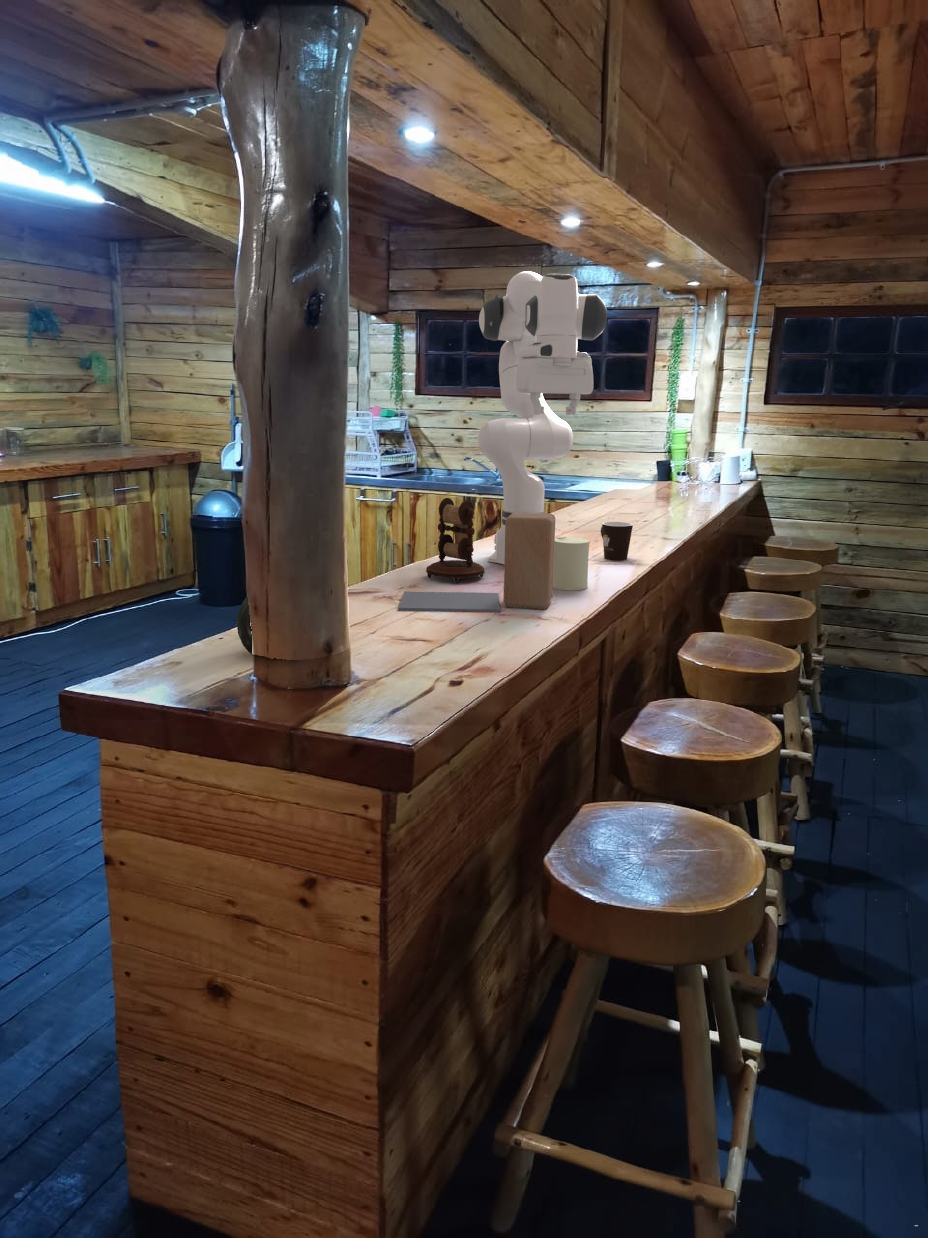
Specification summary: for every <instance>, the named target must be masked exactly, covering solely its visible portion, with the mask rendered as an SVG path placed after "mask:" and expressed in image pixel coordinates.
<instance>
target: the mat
mask: <svg viewBox="0 0 928 1238" xmlns="http://www.w3.org/2000/svg"><path fill="white" fill-rule="evenodd" d="M397 611H399V612H400V611H402V612H405V611H406V612H408V611H409V612H411V611H412V612H458V613H459V612H460V613H461V612H462V613H463V612H465V613H470V612H472V613H501V606H500V595H499V592H476V591H475V592H472V591H471V592H470V591H468V592H465V591H461V592H460V591H459V592H457V591H410V590H407V591H405V590H404V591H403V594H402V596H401V599H400V602H399V605H398V608H397Z"/></svg>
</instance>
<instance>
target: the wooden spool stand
mask: <svg viewBox="0 0 928 1238" xmlns="http://www.w3.org/2000/svg"><path fill="white" fill-rule="evenodd" d="M474 507H475V506H474V504H473V503H472V501H471V500H463V501H462V502H461V503H460V505H455V503H454V501H453V500H452V499H451V498H450V497H445V498H443V499H442V500H441V501H440V502H439V506H438V515H439V518H438V519H439V523H438V525H437V530H438V532H439V536H438V539H439V540H438V544H437V548H438V549H437V550H438V552H439V553H438V559H439V560H438V561H435V562H432V563H431V564H430V565H427V566H426V571H425V572H426V575H427V577H428V579H430V578H431V577H432V576H433V577H437V578H442V579H454V580H453V581H454V583H455V584H456V585H457V584H458V583H459V580H460V579H469V578H476V577H479V578H481V579H482V578H484V574H485V567H484V566H483V565H481V564H480V563H477V562H476V561H474V559H473V555H474V554H473V552H474V550H475V548H474V541H473V540H474V538H473V537H474V535H475V532H476V531H475V528H474V527H473V526H474V522H473V519H474V518H475V517H474V515H475V508H474ZM447 524H449V525H447ZM450 524H451V525H452V526H451V525H450ZM445 532H452V533H453V534H454V538H453V537H452V536H451V535H450V534H447V533H446V534H445ZM446 557H447V558H453V559H449V560H448V559H446Z"/></svg>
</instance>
